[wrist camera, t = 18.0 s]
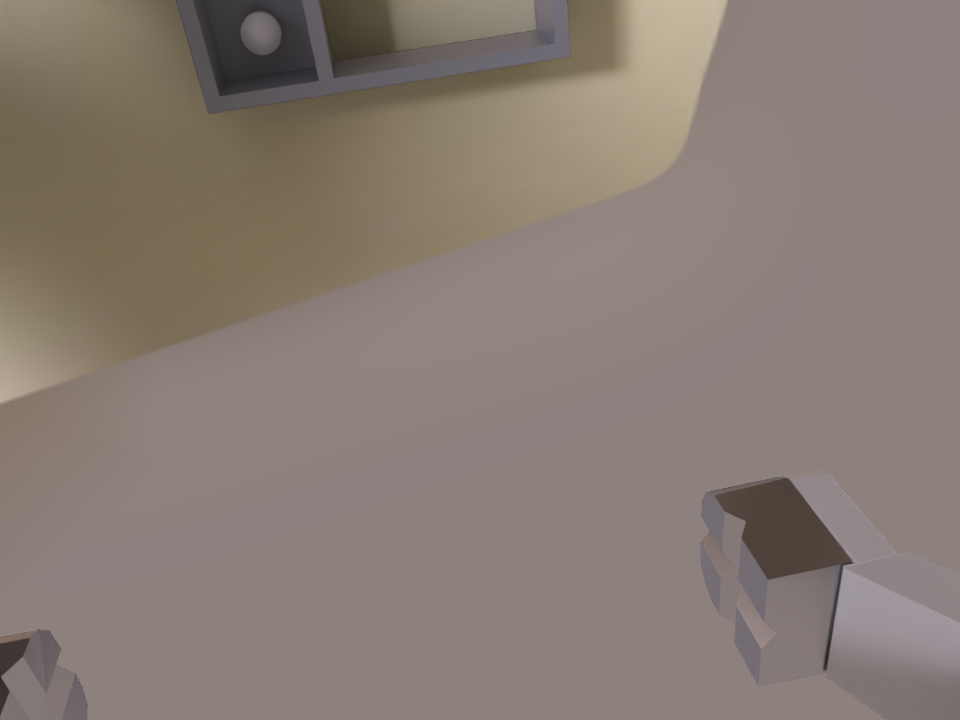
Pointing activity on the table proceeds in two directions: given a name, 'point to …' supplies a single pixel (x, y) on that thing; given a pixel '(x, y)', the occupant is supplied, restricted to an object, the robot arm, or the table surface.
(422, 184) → the table surface
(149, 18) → the table surface
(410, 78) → the parts tub
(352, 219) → the table surface
